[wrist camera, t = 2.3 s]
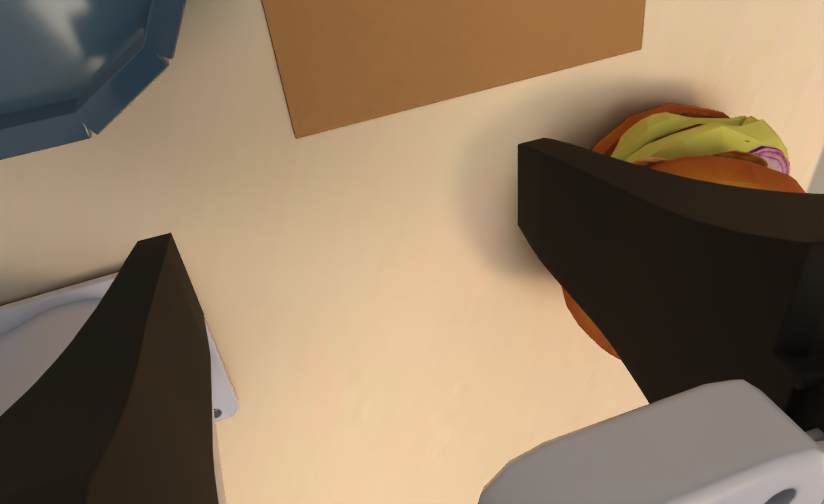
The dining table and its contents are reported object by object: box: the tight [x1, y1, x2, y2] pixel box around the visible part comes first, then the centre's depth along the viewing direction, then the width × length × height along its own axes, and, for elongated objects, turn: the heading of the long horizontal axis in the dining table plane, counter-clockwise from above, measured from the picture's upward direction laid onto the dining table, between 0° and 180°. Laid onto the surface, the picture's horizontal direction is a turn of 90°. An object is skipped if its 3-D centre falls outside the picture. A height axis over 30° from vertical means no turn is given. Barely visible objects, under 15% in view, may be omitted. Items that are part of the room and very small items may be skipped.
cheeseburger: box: [562, 104, 805, 359], centre depth 26 cm, size 10×11×10 cm
